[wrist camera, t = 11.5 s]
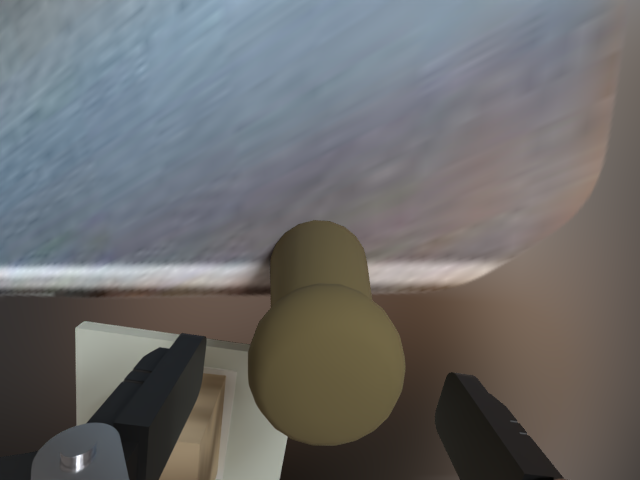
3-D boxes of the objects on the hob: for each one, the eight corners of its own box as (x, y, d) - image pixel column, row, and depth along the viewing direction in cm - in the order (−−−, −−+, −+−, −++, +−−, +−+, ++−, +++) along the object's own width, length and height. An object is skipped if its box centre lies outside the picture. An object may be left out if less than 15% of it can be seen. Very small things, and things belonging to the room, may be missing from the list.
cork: (262, 302, 20) (208, 466, 9) (279, 210, 19) (239, 282, 8) (354, 319, 21) (400, 493, 10) (378, 231, 19) (462, 324, 9)
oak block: (146, 367, 20) (93, 433, 15) (226, 375, 20) (199, 444, 15) (144, 465, 22) (97, 553, 17) (217, 472, 22) (191, 559, 17)
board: (84, 321, 20) (74, 328, 19) (302, 351, 21) (302, 360, 20) (84, 468, 23) (76, 480, 22) (276, 488, 24) (275, 501, 23)
